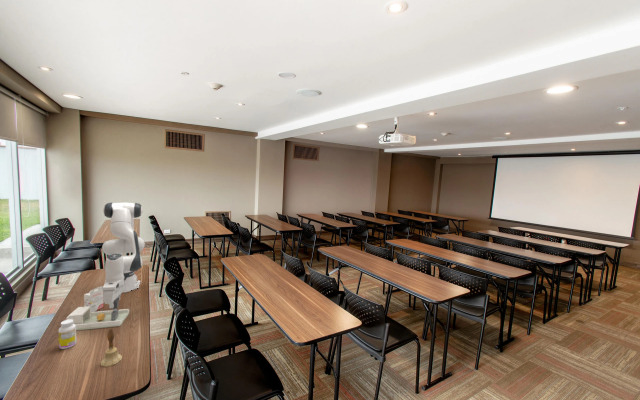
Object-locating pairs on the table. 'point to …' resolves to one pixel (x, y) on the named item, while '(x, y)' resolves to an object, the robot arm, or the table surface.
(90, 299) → the ink cartridge box
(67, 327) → the supplement bottle
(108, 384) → the table surface
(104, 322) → the tray
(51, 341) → the table surface
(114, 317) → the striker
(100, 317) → the ball
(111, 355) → the hand bell
